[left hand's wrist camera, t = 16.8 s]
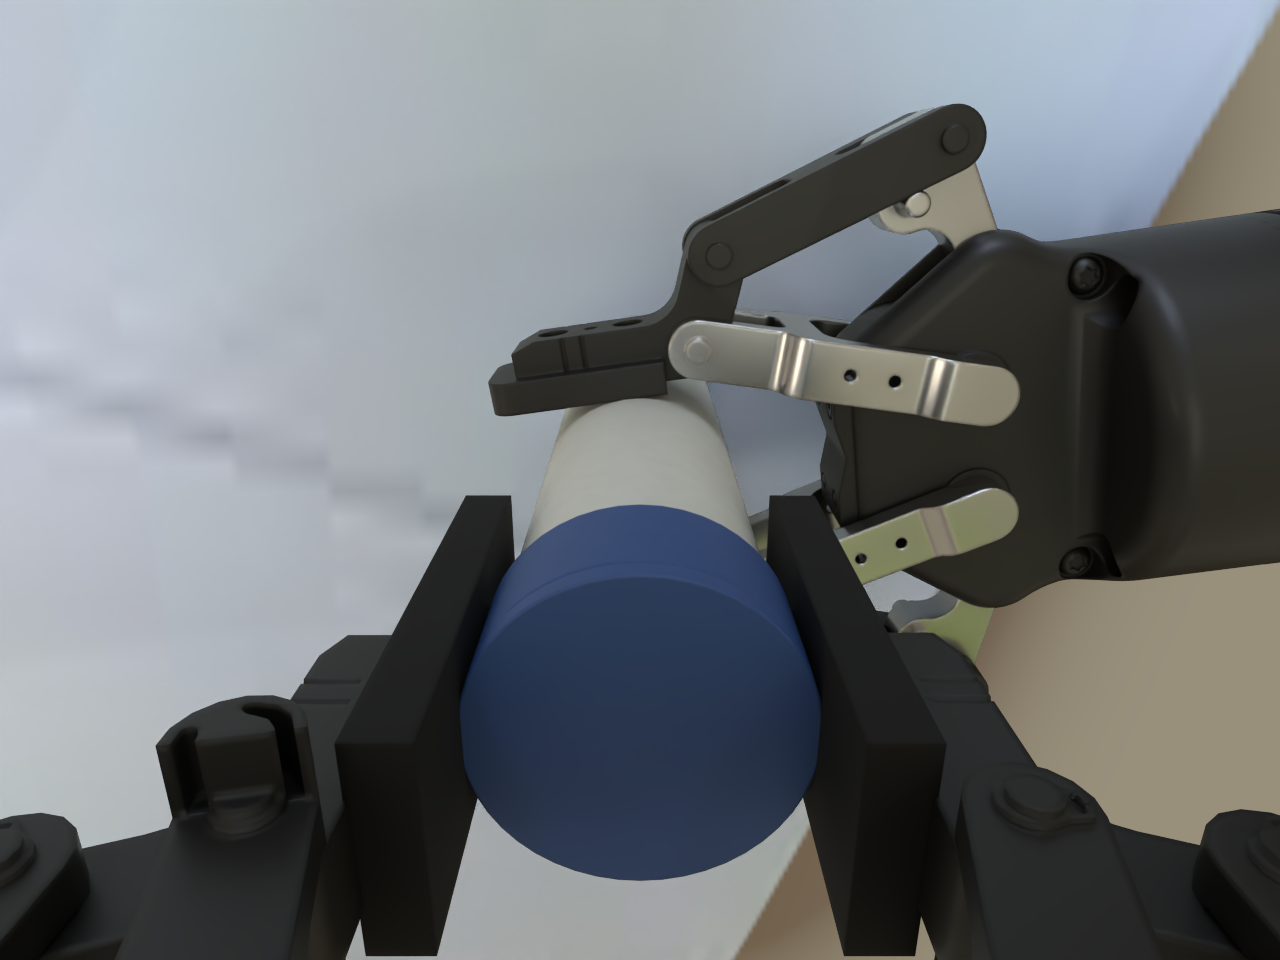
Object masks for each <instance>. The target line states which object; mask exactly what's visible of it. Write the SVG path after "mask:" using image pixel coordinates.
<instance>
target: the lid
mask: <svg viewBox="0 0 1280 960" xmlns="http://www.w3.org/2000/svg"><path fill="white" fill-rule="evenodd" d="M459 709H460V723H461V735H462V746H463V758H464V767H465V773H466V776H467V778H468V780H469V782H470V784H471V786H472V788H473V790H474V792H475V794H476V796H477V798H478V799H479V800H480V802H481V803H482V805H483V806H484V808H485V809H486V811H487V812H488V813H489V814H490V815H491V817H492V818H493V819H494V820H495V821H496V822H497V823H498V824H499V825H500V826H501V828H503V829H504V830H505V831H506V832H507V833H508V834H510V835H511V836H512V837H513V838H514V839H515V840H517V841H518V842H519V843H521V844H522V845H524V846H525V847H527V848H528V849H530V850H531V851H533V852H534V853H536V854H538V855H540V856H542V857H544V858H546V859H548V860H550V861H552V862H554V863H556V864H559V865H561V866H564V867H567V868H569V869H572V870H574V871H578V872H582V873H586V874H590V875H593V876H598V877H605V878H611V879H617V880H636V881H644V880H663V879H669V878H676V877H682V876H687V875H691V874H695V873H698V872H702V871H706V870H708V869H711V868H714V867H716V866H719V865H722V864H724V863H727V862H729V861H731V860H733V859H734V858H736V857H738V856H740V855H742V854H744V853H746V852H747V851H749V850H750V849H752V848H753V847H755V846H756V845H758V844H760V843H761V842H763V841H764V840H765V839H766V838H767V837H768V836H770V835H771V834H772V833H773V832H774V831H775V830H777V829H778V828H779V827H780V826H781V825H782V824H783V822H784V821H785V820H786V819H787V818H788V817H789V816H790V815H791V814H792V813H793V811H794V810H795V808H796V807H797V805H798V804H799V802H800V801H801V800H802V798H803V797H804V795H805V793H806V791H807V789H808V787H809V785H810V783H811V781H812V779H813V777H814V774H815V771H816V765H817V756H818V744H819V733H820V722H821V697H820V694H819V691H818V688H817V685H816V681H815V678H814V675H813V672H812V669H811V666H810V664H809V661H808V658H807V655H806V652H805V649H804V646H803V643H802V640H801V637H800V634H799V631H798V629H797V626H796V623H795V620H794V617H793V614H792V611H791V608H790V605H789V602H788V599H787V596H786V594H785V592H784V590H783V588H782V586H781V584H780V582H779V580H778V578H777V576H776V575H775V573H774V572H773V570H772V569H771V567H770V566H769V564H768V563H767V562H766V561H765V560H764V559H763V557H762V556H761V555H760V554H759V553H758V552H757V551H756V550H755V549H754V548H753V547H752V546H751V545H750V544H748V543H747V542H746V541H745V540H744V539H742V538H741V537H740V536H739V535H737V534H736V533H734V532H732V531H731V530H729V529H728V528H726V527H724V526H723V525H721V524H719V523H717V522H715V521H713V520H710V519H708V518H706V517H704V516H701V515H698V514H695V513H692V512H689V511H685V510H682V509H676V508H671V507H666V506H658V505H641V504H639V505H623V506H615V507H609V508H604V509H598V510H595V511H592V512H589V513H585V514H582V515H579V516H577V517H574V518H572V519H570V520H568V521H566V522H563V523H561V524H559V525H557V526H556V527H554V528H553V529H551V530H549V531H548V532H546V533H545V534H543V535H542V536H540V537H539V538H538V539H537V540H536V541H534V542H533V543H532V544H531V545H530V546H528V547H527V548H526V549H525V550H524V551H523V552H522V553H521V554H520V556H519V557H518V558H517V559H516V560H515V561H514V562H513V563H512V565H511V566H510V568H509V569H508V571H507V572H506V574H505V575H504V577H503V578H502V580H501V582H500V584H499V586H498V588H497V590H496V592H495V595H494V597H493V600H492V603H491V606H490V609H489V612H488V615H487V618H486V621H485V624H484V627H483V630H482V633H481V635H480V638H479V641H478V644H477V647H476V650H475V653H474V656H473V659H472V662H471V665H470V668H469V671H468V674H467V676H466V680H465V683H464V686H463V689H462V692H461V696H460V700H459Z"/></svg>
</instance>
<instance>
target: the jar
mask: <svg viewBox="0 0 1280 960" xmlns="http://www.w3.org/2000/svg"><path fill="white" fill-rule="evenodd" d="M666 383H667V391H668V394H667V395H660V396H653V397H645V398H638V399H627V400H621V401H616V402H609V403H602V404H595V405H587V406H580V407H573V408H566V410H565V413H564V416H563V419H562V423H561V426H560V429H559V432H558V436H557V439H556V442H555V445H554V448H553V452H552V455H551V458H550V461H549V465H548V468H547V471H546V474H545V477H544V481H543V484H542V487H541V490H540V494H539V497H538V500H537V503H536V507H535V510H534V513H533V516H532V519H531V523H530V526H529V529H528V532H527V536H526V539H525V542H524V545H523V548H522V552H523V551H524V550H525V549H526V548H527V547H528V546H530V545H531V544H532V543H533V542H534V541H536V540H537V539H538V538H539V537H540V536H542V535H543V534H545V533H546V532H548V531H549V530H551V529H553V528H554V527H556V526H557V525H559V524H561V523H563V522H566V521H568V520H570V519H572V518H574V517H577V516H579V515H582V514H585V513H589V512H592V511H595V510H598V509H604V508H609V507H615V506H623V505H639V504H641V505H658V506H666V507H671V508H676V509H682V510H685V511H689V512H692V513H695V514H698V515H701V516H704V517H706V518H708V519H710V520H713V521H715V522H717V523H719V524H721V525H723V526H724V527H726V528H728V529H729V530H731V531H732V532H734V533H736V534H737V535H739V536H740V537H741V538H742V539H744V540H745V541H746V542H747V543H748V544H750V545H751V546H752V547H753V548H754V549H755V550H756V551H757V552H758V553H759V550H758V547H757V544H756V541H755V537H754V534H753V531H752V528H751V524H750V521H749V518H748V515H747V512H746V508H745V505H744V502H743V499H742V495H741V492H740V489H739V486H738V482H737V479H736V476H735V473H734V470H733V466H732V463H731V460H730V457H729V453H728V450H727V447H726V444H725V441H724V437H723V434H722V431H721V428H720V424H719V421H718V418H717V415H716V412H715V408H714V405H713V402H712V399H711V395H710V392H709V389H708V386H707V382H706V381H700V380H693V379H689V378H687V379H680V380H672V381H666ZM522 552H521V553H522ZM759 554H760V553H759Z"/></svg>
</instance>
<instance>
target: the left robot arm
mask: <svg viewBox="0 0 1280 960" xmlns="http://www.w3.org/2000/svg"><path fill="white" fill-rule="evenodd" d="M514 561H515V557H514V540H513V522H512V504H511V496H466V497H465V498H464V500H463V502H462V504H461V506H460V508H459V510H458V512H457V514H456V515H455V517H454V519H453V521H452V523H451V525H450V527H449V529H448V530H447V532H446V534H445V536H444V538H443V540H442V542H441V544H440V546H439V547H438V549H437V551H436V553H435V555H434V557H433V559H432V561H431V562H430V564H429V566H428V568H427V570H426V572H425V574H424V576H423V577H422V579H421V581H420V583H419V585H418V587H417V589H416V591H415V593H414V594H413V596H412V598H411V600H410V602H409V604H408V606H407V608H406V609H405V611H404V613H403V615H402V617H401V619H400V621H399V623H398V624H397V626H396V628H395V630H394V632H393V634H392V635H348V636H346V637H345V638H344V639H342V640H341V641H339V642H338V643H337V644H335V645H334V646H332V647H331V648H330V649H328V650H327V651H325V652H324V653H323V654H321V655H320V656H319V657H318V659H317V660H316V662H315V663H314V665H313V666H312V668H311V669H310V671H309V672H308V674H307V675H306V677H305V678H304V684H301V685H300V686H299V688H298V689H297V691H296V692H295V694H294V695H293V697H292V698H291V700H289V699H285V698H281V697H277V696H274V695H267V696H244V697H239V698H235V699H230V700H226V701H221V702H218V703H215V704H213V705H210V706H208V707H206V708H203V709H201V710H198V711H196V712H194V713H191V714H190V715H189V716H187V717H186V718H184V719H183V720H181V721H180V722H178V723H177V724H175V725H174V726H172V727H171V728H170V729H169V730H168V731H167V732H166V733H165V735H164V736H163V737H162V738H161V740H160V741H159V742H158V743H157V745H156V750H157V754H158V758H159V763H160V767H161V771H162V775H163V780H164V784H165V788H166V792H167V796H168V801H169V805H170V809H171V813H172V821H171V823H170V826H169V828H166V829H162V830H159V831H156V832H152V833H149V834H145V835H141V836H137V837H132V838H128V839H123V840H119V841H114V842H110V843H105V844H101V845H96V846H92V847H87V848H83V849H82V847H81V843H80V840H79V836H78V833H77V830H76V828H75V827H74V826H73V825H72V824H71V823H70V822H69V821H68V820H66V819H65V818H64V817H61V816H56V815H50V814H45V813H35V814H27V815H18V816H11V817H7V818H4V819H1V820H0V960H346V959H345V958H346V955H347V953H348V950H349V947H350V945H351V942H352V939H353V937H354V934H355V931H356V929H357V926H358V923H359V921H360V920H361V927H362V934H363V940H364V947H365V954H366V956H437V953H438V950H439V946H440V942H441V938H442V934H443V930H444V926H445V922H446V919H447V915H448V911H449V907H450V903H451V899H452V895H453V891H454V887H455V884H456V880H457V876H458V872H459V868H460V864H461V860H462V856H463V853H464V849H465V845H466V841H467V837H468V833H469V829H470V825H471V822H472V818H473V814H474V810H475V806H476V802H477V796H476V794H475V792H474V790H473V788H472V786H471V784H470V782H469V780H468V778H467V776H466V773H465V767H464V758H463V746H462V735H461V723H460V709H459V700H460V696H461V692H462V689H463V686H464V683H465V680H466V676H467V674H468V671H469V668H470V665H471V662H472V659H473V656H474V653H475V650H476V647H477V644H478V641H479V638H480V635H481V633H482V630H483V627H484V624H485V621H486V618H487V615H488V612H489V609H490V606H491V603H492V600H493V597H494V595H495V592H496V590H497V588H498V586H499V584H500V582H501V580H502V578H503V577H504V575H505V574H506V572H507V571H508V569H509V568H510V566H511V565H512V563H513V562H514ZM766 562H767V563H768V564H769V566H770V567H771V569H772V570H773V572H774V573H775V575H776V576H777V578H778V580H779V582H780V584H781V586H782V588H783V590H784V592H785V594H786V596H787V599H788V602H789V605H790V608H791V611H792V614H793V617H794V620H795V623H796V626H797V629H798V631H799V634H800V637H801V640H802V643H803V646H804V649H805V652H806V655H807V658H808V661H809V664H810V666H811V669H812V672H813V675H814V678H815V681H816V685H817V688H818V691H819V694H820V697H821V722H820V733H819V744H818V756H817V765H816V771H815V774H814V777H813V779H812V781H811V783H810V785H809V787H808V789H807V791H806V793H805V795H804V797H803V799H804V803H805V807H806V811H807V814H808V818H809V822H810V826H811V830H812V834H813V837H814V842H815V845H816V849H817V853H818V857H819V861H820V865H821V869H822V873H823V876H824V880H825V884H826V888H827V892H828V896H829V900H830V904H831V907H832V911H833V915H834V919H835V923H836V927H837V931H838V934H839V938H840V942H841V946H842V950H843V954H844V956H915V953H916V946H917V939H918V933H919V926H920V919H921V917H922V919H923V922H924V925H925V927H926V930H927V933H928V935H929V938H930V941H931V943H932V946H933V949H934V951H935V959H934V960H1280V815H1277V814H1273V813H1269V812H1260V811H1252V810H1243V809H1240V810H1235V811H1229V812H1224V813H1219V814H1217V815H1216V816H1215V817H1214V818H1213V819H1212V820H1211V821H1210V822H1208V823H1207V824H1206V826H1205V830H1204V834H1203V837H1202V840H1201V844H1200V845H1196V844H1192V843H1187V842H1183V841H1178V840H1174V839H1169V838H1165V837H1160V836H1156V835H1151V834H1147V833H1142V832H1138V831H1134V830H1131V829H1127V828H1124V827H1121V826H1117V825H1114V824H1111V823H1110V822H1109V819H1108V817H1107V815H1106V814H1105V813H1104V811H1103V810H1102V808H1101V807H1100V805H1099V804H1098V802H1097V801H1096V799H1095V798H1094V797H1092V796H1091V795H1090V794H1089V793H1087V792H1086V791H1085V790H1083V789H1082V788H1081V787H1080V786H1078V785H1077V784H1076V783H1074V782H1073V781H1071V780H1069V779H1067V778H1065V777H1063V776H1061V775H1058V774H1056V773H1054V772H1052V771H1050V770H1048V769H1044V768H1040V767H1037V766H1036V764H1035V763H1034V761H1033V760H1032V758H1031V757H1030V755H1029V754H1028V752H1027V751H1026V749H1025V748H1024V746H1023V744H1022V743H1021V742H1020V740H1019V738H1018V737H1017V736H1016V734H1015V732H1014V731H1013V730H1012V728H1011V726H1010V725H1009V723H1008V722H1007V720H1006V719H1005V717H1004V716H1003V714H1002V713H1001V711H1000V710H999V708H998V707H997V705H996V704H995V702H994V701H991V697H990V695H989V693H988V692H987V690H986V689H985V687H984V686H983V684H982V683H981V681H978V679H977V675H976V674H975V672H974V671H973V669H972V668H971V666H970V665H969V663H968V662H967V660H966V659H965V657H964V655H963V654H962V653H961V652H960V651H958V650H957V649H956V648H954V647H953V646H951V645H950V644H948V643H947V642H946V641H944V640H943V639H941V638H940V637H939V636H937V635H936V634H934V633H888V632H887V630H886V628H885V627H884V625H883V623H882V621H881V619H880V617H879V615H878V613H877V612H876V610H875V608H874V606H873V604H872V602H871V600H870V598H869V596H868V595H867V593H866V591H865V589H864V587H863V585H862V583H861V581H860V580H859V578H858V576H857V574H856V572H855V570H854V568H853V566H852V565H851V563H850V561H849V559H848V557H847V555H846V553H845V551H844V550H843V548H842V546H841V544H840V542H839V540H838V538H837V536H836V534H835V533H834V531H833V529H832V527H831V525H830V523H829V521H828V519H827V518H826V516H825V514H824V512H823V510H822V508H821V506H820V504H819V503H818V501H817V499H816V497H815V496H770V501H769V519H768V536H767V554H766Z"/></svg>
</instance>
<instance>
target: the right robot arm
mask: <svg viewBox="0 0 1280 960" xmlns="http://www.w3.org/2000/svg"><path fill="white" fill-rule="evenodd" d="M986 133H987V132H986V126H985V123H984V120H983V118H982V116H981V115H980V114H979V113H978V112H977V111H976V110H975V109H974V108H972V107H970V106H968V105H965V104H951V105H946V106H939V107H934V108H929V109H925V110H921V111H917V112H913V113H908V114H906V115H904V116H902V117H900V118H898V119H896V120H894V121H892V122H890V123H888V124H886V125H884V126H882V127H880V128H878V129H876V130H874V131H872V132H870V133H868V134H866V135H864V136H862V137H860V138H858V139H856V140H854V141H852V142H850V143H848V144H846V145H845V146H843V147H841V148H839V149H837V150H835V151H833V152H831V153H829V154H827V155H825V156H823V157H821V158H819V159H817V160H815V161H813V162H811V163H809V164H807V165H805V166H803V167H801V168H799V169H797V170H795V171H793V172H791V173H789V174H787V175H785V176H783V177H781V178H779V179H777V180H775V181H773V182H771V183H769V184H768V185H766V186H764V187H762V188H760V189H758V190H756V191H754V192H752V193H750V194H748V195H746V196H744V197H742V198H740V199H738V200H736V201H734V202H732V203H730V204H728V205H726V206H724V207H722V208H720V209H718V210H716V211H714V212H712V213H710V214H708V215H706V216H704V217H702V218H700V219H698V220H697V221H695V222H694V223H692V224H691V225H690V226H689V228H688V229H687V230H686V232H685V234H684V237H683V242H682V250H683V255H682V259H681V264H680V268H679V273H678V277H677V282H676V286H675V290H674V292H673V295H672V297H671V298H670V300H669V301H668V302H667V303H666V305H665V306H663V307H662V308H661V309H660V310H658V311H656V312H654V313H651V314H648V315H643V316H636V317H629V318H622V319H615V320H608V321H601V322H594V323H587V324H580V325H573V326H568V327H558V328H551V329H544V330H540V331H538V332H537V333H535V334H533V335H531V336H530V337H528V338H526V339H525V340H523V341H521V342H520V343H519V345H518V346H517V348H516V349H515V350H514V352H513V353H512V355H511V356H512V361H513V363H509V364H506V365H503V366H501V367H499V368H498V369H497V370H496V372H495V373H494V374H493V376H492V377H491V379H490V380H489V381H488V384H489V388H490V393H491V398H492V403H493V408H494V412H495V415H498V416H514V415H522V414H529V413H536V412H544V411H551V410H558V409H565V408H573V407H580V406H587V405H595V404H602V403H609V402H616V401H621V400H627V399H638V398H645V397H653V396H660V395H667V394H668V391H667V383H666V381H672V380H680V379H687V378H689V379H693V380H700V381H708V382H716V383H723V384H731V385H738V386H746V387H753V388H761V389H768V390H773V391H776V392H779V393H781V394H783V395H786V396H789V397H793V398H797V399H802V400H809V401H815V402H816V405H817V407H818V410H819V413H820V415H821V418H822V421H823V424H824V426H825V429H826V439H825V444H824V449H823V454H822V458H821V463H820V471H821V479H820V480H818V481H815V482H813V483H810V484H808V485H805V486H803V487H800V488H798V489H795V490H793V491H791V492H788V493H786V494H784V495H783V496H815V497H816V499H817V501H818V503H819V504H820V506H821V508H822V510H823V512H824V514H825V516H826V518H827V519H828V521H829V523H830V525H831V527H832V529H833V531H834V533H835V534H836V536H837V538H838V540H839V542H840V544H841V546H842V548H843V550H844V551H845V553H846V555H847V557H848V559H849V561H850V563H851V565H852V566H853V568H854V570H855V572H856V574H857V576H858V578H859V580H860V581H861V583H862V585H864V584H866V583H869V582H872V581H874V580H877V579H879V578H882V577H885V576H887V575H890V574H893V573H895V572H898V571H900V570H902V571H904V572H906V573H908V574H910V575H912V576H914V577H916V578H918V579H920V580H922V581H924V582H926V583H928V584H930V585H932V586H934V587H936V588H938V589H940V591H939V592H938V593H937V594H936V595H935V596H933V597H931V598H929V599H926V600H921V601H907V600H898V601H896V602H895V603H894V604H893V606H892V610H891V611H890V612H882V611H876V612H877V613H878V615H879V617H880V619H881V621H882V623H883V625H884V627H885V628H886V630H887V632H888V633H934V634H936V635H937V636H939V637H940V638H941V639H943V640H944V641H946V642H947V643H948V644H950V645H951V646H953V647H954V648H956V649H957V650H958V651H960V652H961V653H962V654H963V655H964V657H965V659H966V660H967V662H968V663H969V665H970V666H971V668H972V669H973V671H974V672H975V674H976V675H977V679H978V681H981V683H982V684H983V686H984V687H985V689H986V690H987V692H989V691H988V685H987V682H986V681H985V679H984V678H983V676H982V675H981V673H980V672H979V670H978V669H977V667H976V666H975V662H976V659H977V656H978V653H979V650H980V648H981V645H982V642H983V639H984V636H985V634H986V631H987V628H988V625H989V623H990V620H991V617H992V614H993V611H994V609H995V608H997V607H1003V606H1007V605H1010V604H1013V603H1015V602H1018V601H1019V600H1021V599H1023V598H1024V597H1026V596H1027V595H1029V594H1030V593H1032V592H1034V591H1036V590H1038V589H1040V588H1042V587H1044V586H1046V585H1049V584H1051V583H1054V582H1057V581H1061V580H1067V579H1088V580H1109V581H1134V580H1143V579H1151V578H1159V577H1166V576H1174V575H1182V574H1190V573H1198V572H1206V571H1214V570H1222V569H1230V568H1238V567H1245V566H1253V565H1261V564H1270V563H1279V562H1280V209H1276V210H1269V211H1262V212H1255V213H1249V214H1241V215H1235V216H1228V217H1220V218H1213V219H1206V220H1199V221H1193V222H1185V223H1179V224H1172V225H1165V226H1158V227H1151V228H1144V229H1137V230H1130V231H1123V232H1116V233H1109V234H1102V235H1095V236H1088V237H1081V238H1074V239H1068V240H1061V241H1047V242H1041V241H1037V240H1035V239H1032V238H1030V237H1028V236H1026V235H1024V234H1021V233H1019V232H1015V231H1011V230H1000V229H997V226H996V223H995V220H994V217H993V214H992V211H991V208H990V205H989V202H988V199H987V196H986V193H985V190H984V187H983V184H982V181H981V178H980V175H979V172H978V169H977V166H976V163H975V162H976V161H977V159H978V158H979V157H980V155H981V153H982V151H983V149H984V146H985V143H986ZM868 217H869V219H870V221H871V222H872V223H873V224H874V225H875V226H876V227H878V228H880V229H882V230H885V231H889V232H893V233H898V234H911V233H914V232H917V231H920V230H928V231H929V232H931V233H932V234H933V235H934V236H935V238H936V239H937V241H938V243H939V244H938V245H937V246H936V247H935V248H934V249H933V250H932V251H931V252H929V253H928V254H927V255H926V256H925V257H924V258H923V259H922V260H921V261H919V262H918V263H917V264H916V265H915V266H914V267H913V268H912V269H910V270H909V271H908V272H907V273H906V274H905V275H904V276H903V277H902V278H900V279H899V280H898V281H897V282H896V283H895V284H894V285H893V286H891V287H890V288H889V289H888V290H887V291H886V292H885V293H884V294H883V295H881V296H880V297H879V298H878V299H877V300H876V301H875V302H874V303H872V304H871V305H870V306H869V307H868V308H867V309H866V310H865V311H863V312H862V313H861V314H860V315H859V316H858V317H857V318H856V319H855V320H853V321H847V320H839V319H832V318H825V317H818V316H810V315H803V314H796V313H788V312H759V311H751V310H744V309H737V308H736V305H737V301H738V297H739V293H740V289H741V285H742V281H743V278H745V277H748V276H750V275H752V274H754V273H756V272H758V271H760V270H762V269H764V268H766V267H768V266H770V265H772V264H774V263H776V262H778V261H780V260H782V259H784V258H786V257H788V256H790V255H792V254H794V253H796V252H799V251H801V250H803V249H805V248H807V247H809V246H811V245H813V244H815V243H817V242H819V241H821V240H823V239H825V238H827V237H829V236H831V235H833V234H835V233H837V232H839V231H841V230H843V229H845V228H847V227H849V226H852V225H854V224H856V223H858V222H860V221H862V220H864V219H866V218H868ZM748 518H749V521H750V524H751V528H752V531H753V534H754V537H755V541H756V544H757V547H758V550H759V553H760V555H761V556H762V557H763V559H764V560H765V561H766V554H767V536H768V519H769V509H767V510H765V511H762V512H760V513H757V514H755V515H752V516H750V517H748Z"/></svg>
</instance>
